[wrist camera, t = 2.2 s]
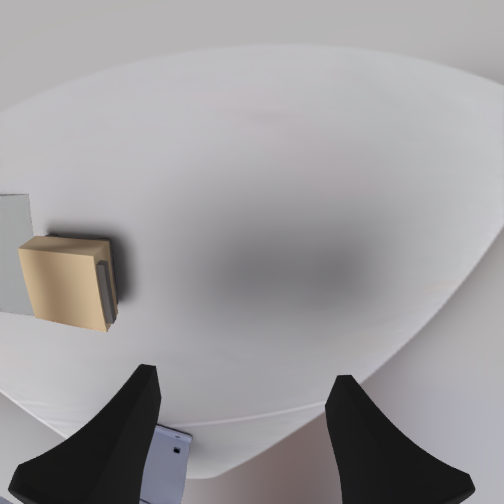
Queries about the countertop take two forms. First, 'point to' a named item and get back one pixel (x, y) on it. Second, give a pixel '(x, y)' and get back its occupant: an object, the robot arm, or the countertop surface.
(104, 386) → the countertop surface
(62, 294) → the tan cardboard box
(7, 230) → the dock
